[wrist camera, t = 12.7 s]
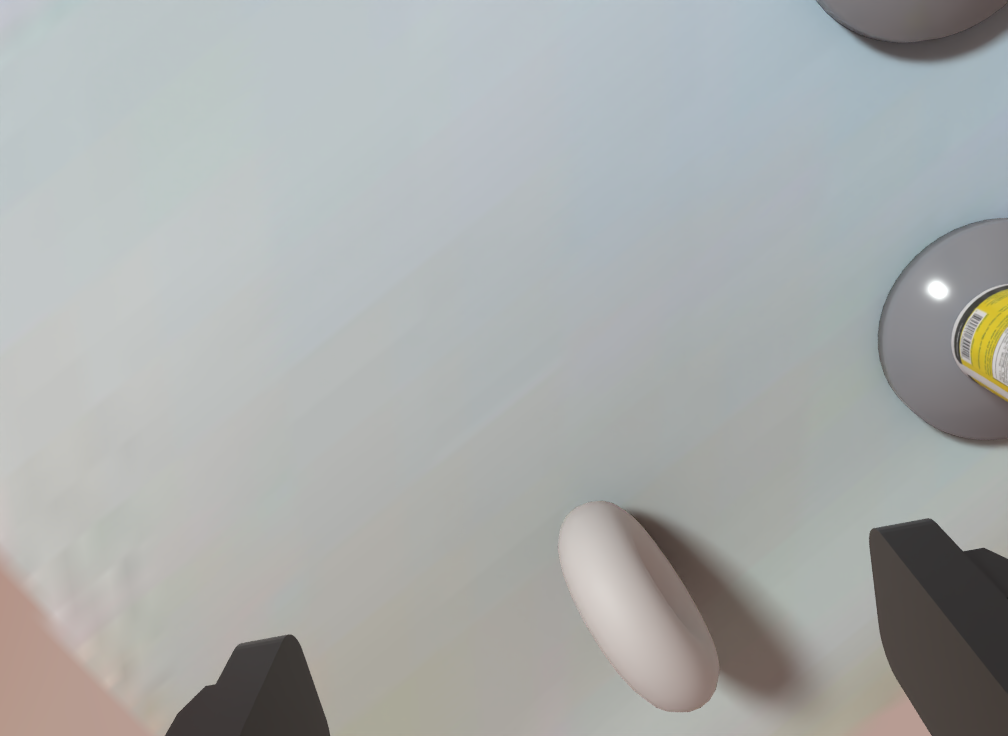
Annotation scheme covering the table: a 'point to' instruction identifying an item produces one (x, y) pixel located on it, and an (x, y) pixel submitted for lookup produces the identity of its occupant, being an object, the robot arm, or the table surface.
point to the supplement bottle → (984, 340)
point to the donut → (637, 607)
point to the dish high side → (909, 17)
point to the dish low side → (944, 330)
